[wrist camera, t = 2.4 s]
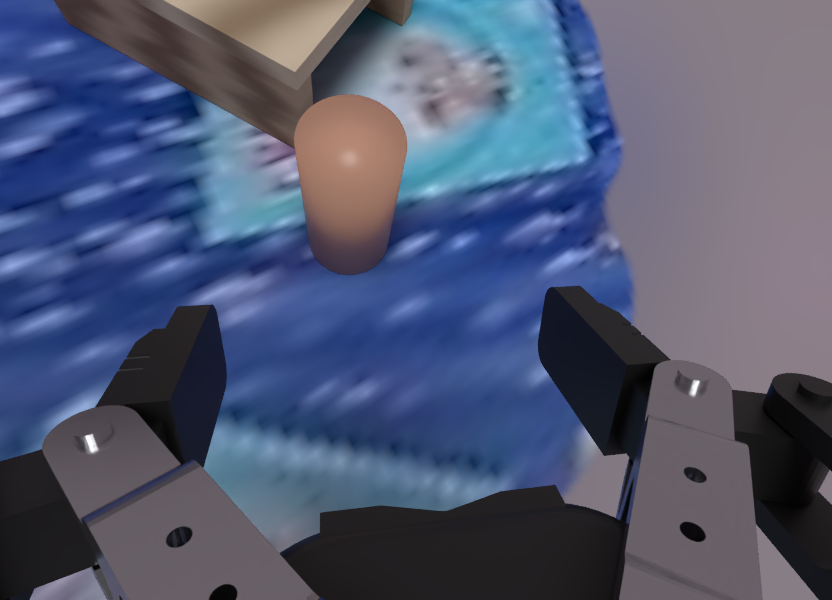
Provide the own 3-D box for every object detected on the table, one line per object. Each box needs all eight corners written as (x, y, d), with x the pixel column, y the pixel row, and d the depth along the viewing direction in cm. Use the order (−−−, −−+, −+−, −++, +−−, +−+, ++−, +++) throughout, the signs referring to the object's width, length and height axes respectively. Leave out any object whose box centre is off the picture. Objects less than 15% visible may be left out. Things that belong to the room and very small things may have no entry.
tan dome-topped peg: (293, 249, 34) (271, 154, 23) (335, 189, 36) (332, 76, 25) (363, 289, 34) (372, 210, 23) (402, 226, 35) (426, 128, 25)
